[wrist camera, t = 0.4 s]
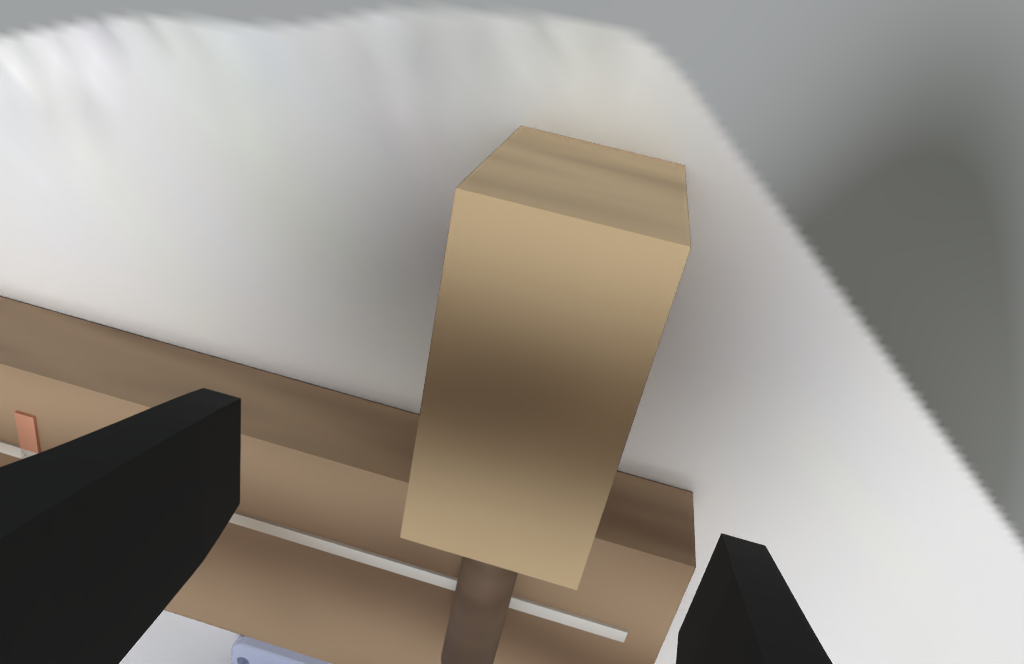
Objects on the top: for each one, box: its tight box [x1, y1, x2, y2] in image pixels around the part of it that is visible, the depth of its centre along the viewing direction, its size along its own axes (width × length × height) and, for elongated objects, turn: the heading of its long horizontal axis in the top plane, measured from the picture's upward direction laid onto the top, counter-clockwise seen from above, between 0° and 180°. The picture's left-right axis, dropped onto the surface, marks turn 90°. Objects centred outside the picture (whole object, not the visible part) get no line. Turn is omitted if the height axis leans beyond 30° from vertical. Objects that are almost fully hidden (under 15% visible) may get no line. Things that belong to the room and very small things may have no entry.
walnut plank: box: [0, 296, 696, 664], centre depth 22 cm, size 8×24×3 cm, turn 79°
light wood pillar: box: [400, 126, 691, 664], centre depth 17 cm, size 13×4×6 cm, turn 169°
